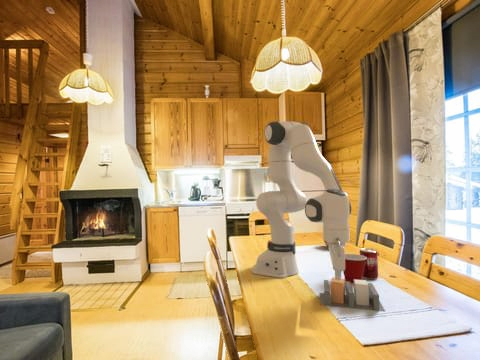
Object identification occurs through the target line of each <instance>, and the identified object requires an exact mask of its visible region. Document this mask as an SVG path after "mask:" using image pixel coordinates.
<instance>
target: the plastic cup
mask: <svg viewBox="0 0 480 360" xmlns="http://www.w3.org/2000/svg"><path fill="white" fill-rule="evenodd" d="M366 259H367V257H365V256H362V255H360V254H356V253H345V271H342V273H343V276H344V279H345V281H348V282H350V284H353V285H354V279H355V280H363V270H364V265H365V261H366Z"/></svg>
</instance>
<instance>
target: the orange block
mask: <svg viewBox="0 0 480 360" xmlns="http://www.w3.org/2000/svg"><path fill="white" fill-rule="evenodd" d="M330 280H331V281H330V294H331V301H333V302H338V303H343V304H344V301H345V295H346V289H345V278H341V280H335V277H332V278H331V279H330Z"/></svg>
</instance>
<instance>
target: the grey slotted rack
mask: <svg viewBox="0 0 480 360" xmlns="http://www.w3.org/2000/svg"><path fill="white" fill-rule="evenodd" d="M367 283H368V285H369V306H368V305H357V304H356V303H355V300H354V288H353V287H352V283H350V282H348V281H345V301H344V304H343V303H338V302H333V301H331V287H330V284H329V280H328V279H323V291H324V292H319V305H320V306H325V307H333V308H336V307H337V308H344V309H345V308H346V309H355V310H356V309H358V310H365V311H377V312H386V309H385V308H384V306H383V304H382V303H381V301H380V295H379V293H378V291H377V289H376V287H375V285H374V284H373V283H372V282H367Z"/></svg>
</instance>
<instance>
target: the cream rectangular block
mask: <svg viewBox="0 0 480 360" xmlns="http://www.w3.org/2000/svg"><path fill="white" fill-rule="evenodd" d="M368 283H369V282H368V281H367V279H366V280H364V279H362V280H355V279H354V284H353V292H354V300H355V303H356V304H357V305H368V306H369V285H368Z"/></svg>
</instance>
